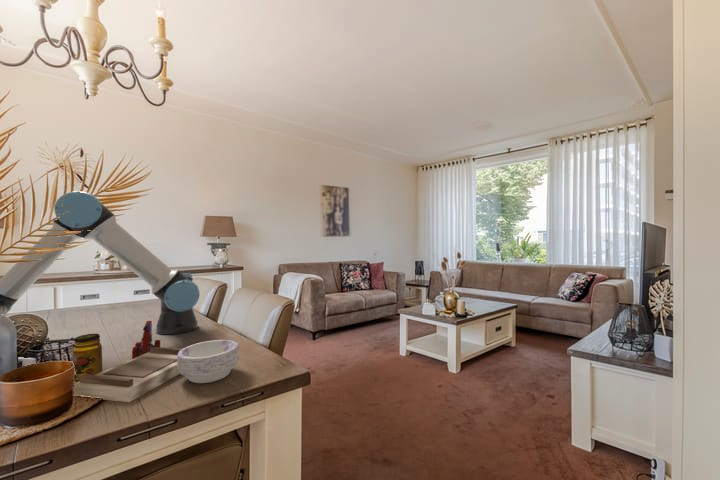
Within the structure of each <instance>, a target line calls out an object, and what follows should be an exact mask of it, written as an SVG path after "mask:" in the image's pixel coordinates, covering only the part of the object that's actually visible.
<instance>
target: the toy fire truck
mask: <svg viewBox="0 0 720 480" xmlns="http://www.w3.org/2000/svg"><path fill="white" fill-rule="evenodd" d="M152 328H153V321H152V320H147V321H145V324H144V327H143V328H142V329H143V330H142V331H143V334H142V337H141V340H140V341H137V342H135V346H133V347H132V349H131V350H132V353H131V359H134V358H136V357H139V356H141V355H143V354H146V353H148V352H150V348H151V347H161V339H155V340H154V344H153V343H152V342H153V334H152V333H153V331H152Z"/></svg>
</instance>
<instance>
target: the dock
mask: <svg viewBox="0 0 720 480" xmlns="http://www.w3.org/2000/svg"><path fill="white" fill-rule="evenodd" d="M182 349H183V348H181V347H180V348H176V347H162V346H160V347H151V348H150V352H148V353H146V354H143V355H141V356H139V357H136V358H134V359H132V358H131V359H130V360H127V361H125V362H122V363H120V364H118V365H115V366H112V367H110V368H108V369H105V371H104V370H102V371H103V372H100V373H98V374H96V375H82V376H80V381H79V382H76V383H74V395H84V396H91V397H100V398H102V399H103V400H104V401H113V402H125V403H130V402H132V401H134V400H135V399H138V398H140V397H142V396H144V395H145V394H147V393H148V392H150V391H151V390H153V389H156V388H157V387H159V386H161V385H163V384H164V383H166V382H168V381H170V380H171V379H173V378H175V377H177V376H178V375H181V374H180V373H179V372H178V362H177V354H178V352H179V351H180V350H182ZM102 399H101V400H102Z"/></svg>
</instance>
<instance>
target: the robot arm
mask: <svg viewBox="0 0 720 480" xmlns="http://www.w3.org/2000/svg"><path fill="white" fill-rule="evenodd" d="M63 198H64V201H63ZM62 202H63V205H62ZM61 205H62V207H61ZM53 208H54V215H55V216H56V218H57V217H58V216H60V218H59V219H57V220H55V219H53V220H52V226H51V228H50V229H49V230H69V231H81V233H78V234H74V235H70V236H61V237H43V236H46V235H61V234H65V233H66V232H64V231H49V230H48V231H47V232H46V233H44V235H43V236H42V237H41V238H40V239H39V240H38V241H37V242H39V243H50V244H36V243H35V244H34V245H33V246H32V247H31V248H57V247H65V246H69V247H70V246H71V245H72V244H73V243H74V242H75V241H76V240H78V239H82V238H83V239H84V240H93V241H94V242H96V243H97V244H98V245H99V246H101V247H102V248H103V249H104V250H106V252H108V253H109V254H111V255H112V256H113V257H114V258H115V259H117V260H118V261H119V262H121V263H122V264H123V265H124V266H125V267H126V268H128V269H129V271H131V272H133V273H134V274H135V275H136V276H138V277H139V278H140V279H142V280H143V281H144V282H145V283H147V285H149V286H150V287H151V293H152V295H154V296H155V297H157V298H158V299H159V300H160V314H159V318H158V320H157V323H156V325H155V326H156V327H155V333H156V334H158V335H159V334H161V335H176V334H183V333H187V332H190V331H193V330H196V329H197V328H198V327H199V324H198V319H197V316H196V315H195V311H194V307H195V306H196V305H197V303H198V301H199V299H200V295H201V294H200V293H201V292H200V289H199V286H198V285H197V283H195V282H194V281H193V280H194V278H193V275H192V273H191V272H186V273H182V272H181V271H180V270H179V269H171V268H170V267H169V266H168V265H166V264H165V263H164V262H163V261H162V260H160V259H159V257H157V256H156V255H155V254H154V253H152V252H151V251H150V250H149V249H148V248H147V247H145V246H144V245H143V244H142V243H141V242H139V241H138V240H137V239H136V238H135V237H134V236H133V235H131V234H130V233H129V232H128V231H127V230H126V229H124V227H122V225H120V224H119V223H117V219H116V215H115V213H113V212H112V211H111V210H110V209H108V207H106V206H105V205H104V204H103V203H102V202H100V201H99V199H98V198H97V197H96V196H94V195H93V194H91V193H90V192H86V191H79V190H76V191H75V190H74V191H70V192H65V193H64V194H62V195H61V196H60V197H58V199H57V200H56V201H55V203H54V207H53ZM72 208H73V209H72ZM67 211H69V212H68V213H65V212H67ZM63 213H64V215H63ZM59 214H60V215H59ZM82 230H83V231H82ZM87 230H91V231H87ZM52 243H72V244H69V245H66V244H58V245H57V244H52ZM66 250H67V249H63V250H58V251H55V252H52V253H45V254H38V255H25V254H27V253H33V252H37V251H35V250H30V249H29V250H28V251H27V252H26V253H25V254H24V255H22V257H21V258H20V259H19V260H39V259H42V261H33V262H21V263H17V262H16V263H15V264H14V265H13V266H12V267H11V268H10V269H9V270H8V271H7V272H6V273H5V274H4V275H3V276H2V277H1V278H0V314H4V315H3V316H5V315H6V314H8V313H9V311H11V310H12V306H14V304H16V302H17V301H18V300H19V299H20V298H21V297H22V296H23V295H24V294H25V293H26V292H27V291H28V290H29V289H30V287H31V286H32V285H34V284H35V282H36V281H38V279H39V278H40V277H41V276H42V275H43V274H44V273H45V272H46V271H47V270H48V269H49V268H50V267H51V266H52V265H53V264H54V262H55V261H57V259H58V258H59V257H61V255H63V253H65V251H66ZM75 338H76V337H71V338H61V339H44V340H45V342H46V343H47V342H50V343H56V342H66V343H73V344H75V341H74V340H75ZM31 364H36V365H37V359H36V358H35V357H28V358H24V357H18V362H17V367H23V366H27V365H31Z"/></svg>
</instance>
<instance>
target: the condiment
mask: <svg viewBox="0 0 720 480" xmlns="http://www.w3.org/2000/svg"><path fill="white" fill-rule="evenodd" d="M74 338H75V340H74V341H75V344H74V345H75V347H74V349H73V351H72V364H73V363H74V365H75V372H76V377H75V382H79V381H80V376H82V375H96V374H98V373H100V372H103V371H105V370H106V369H105V370H103V345H102V343H101V339H100V334H99V333H88V334H82V335H79V336H76V337H74Z"/></svg>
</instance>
